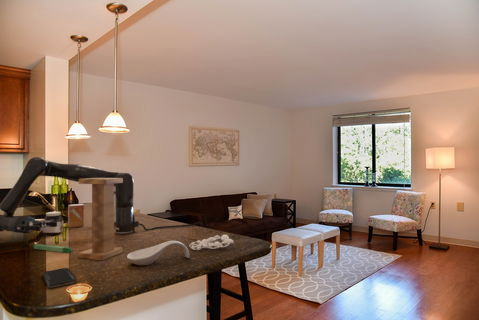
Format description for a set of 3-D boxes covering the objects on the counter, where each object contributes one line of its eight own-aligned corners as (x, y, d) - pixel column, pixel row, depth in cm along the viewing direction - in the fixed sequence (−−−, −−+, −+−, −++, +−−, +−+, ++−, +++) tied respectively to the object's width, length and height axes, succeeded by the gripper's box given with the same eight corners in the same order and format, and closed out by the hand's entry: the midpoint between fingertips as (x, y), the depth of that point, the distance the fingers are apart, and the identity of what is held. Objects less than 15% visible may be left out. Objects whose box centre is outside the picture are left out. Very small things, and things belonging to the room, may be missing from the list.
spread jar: (54, 236, 169) (54, 214, 169) (33, 236, 170) (33, 214, 170) (67, 231, 181) (67, 210, 181) (47, 231, 182) (47, 210, 182)
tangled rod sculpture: (193, 256, 136) (192, 246, 136) (186, 245, 150) (186, 236, 149) (236, 250, 142) (236, 241, 142) (226, 240, 156) (226, 232, 156)
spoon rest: (128, 270, 116) (128, 250, 116) (125, 261, 126) (125, 242, 126) (192, 261, 126) (192, 242, 126) (184, 253, 136) (184, 236, 136)
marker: (31, 248, 145) (31, 244, 145) (35, 247, 147) (35, 243, 147) (67, 252, 138) (67, 248, 138) (71, 251, 140) (71, 247, 140)
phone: (67, 267, 115) (76, 279, 103) (67, 270, 115) (76, 282, 103) (41, 272, 110) (48, 285, 98) (41, 275, 110) (48, 288, 98)
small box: (69, 227, 192) (69, 205, 192) (68, 225, 197) (68, 204, 197) (84, 226, 196) (84, 204, 196) (82, 224, 201) (82, 203, 202)
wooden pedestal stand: (76, 257, 131) (76, 178, 132) (98, 249, 143) (98, 177, 143) (104, 260, 127) (104, 179, 127) (124, 252, 138) (124, 178, 139)
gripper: (6, 219, 142) (33, 220, 137) (35, 213, 155) (61, 215, 150) (6, 236, 142) (33, 238, 137) (36, 229, 155) (61, 231, 150)
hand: (48, 226), depth 143 cm, fingers open, 8 cm apart
